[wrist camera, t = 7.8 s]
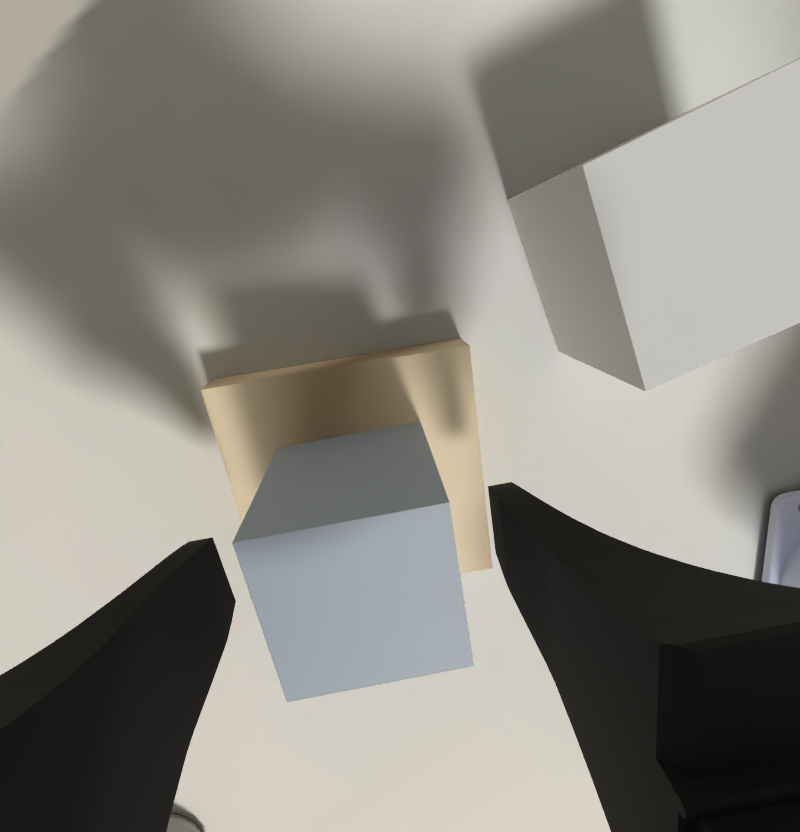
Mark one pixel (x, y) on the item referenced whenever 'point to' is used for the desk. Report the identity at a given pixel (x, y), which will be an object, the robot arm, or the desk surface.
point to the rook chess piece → (181, 824)
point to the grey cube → (675, 237)
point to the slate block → (355, 563)
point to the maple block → (361, 421)
